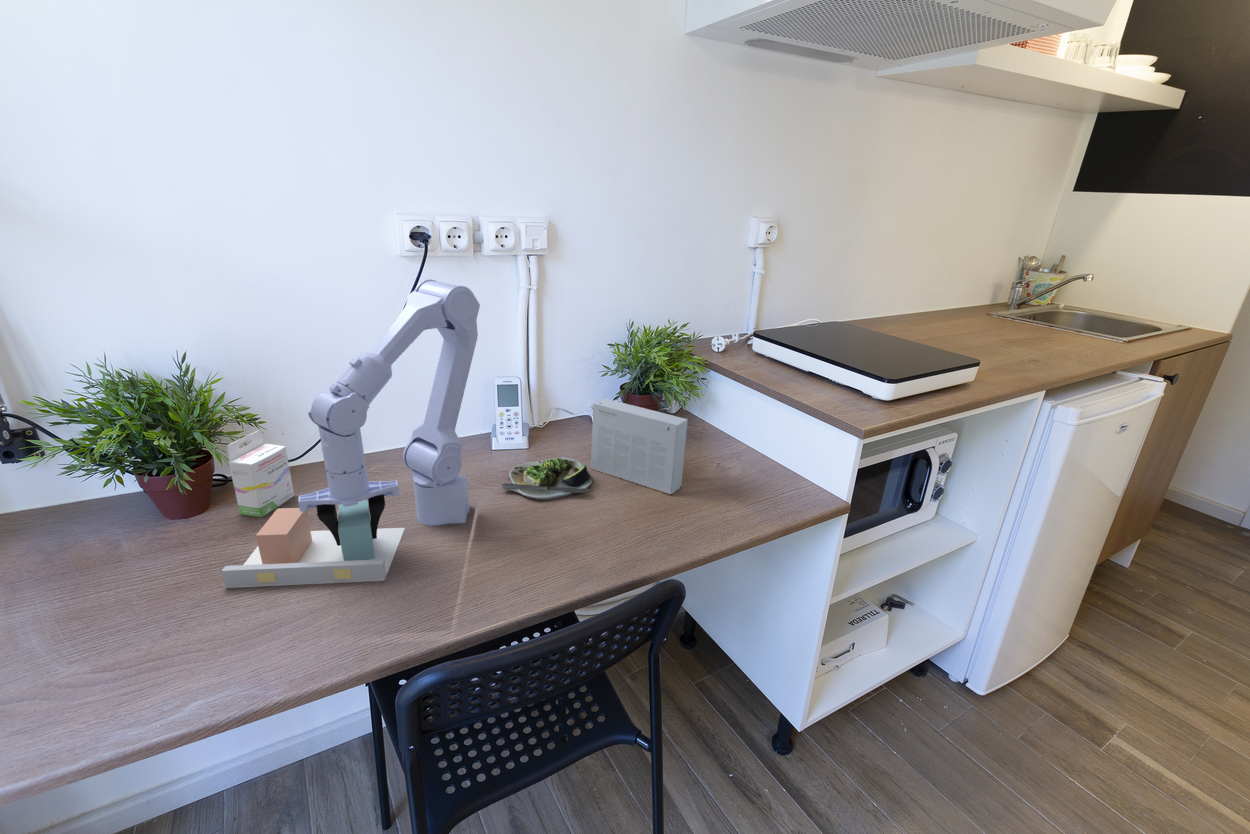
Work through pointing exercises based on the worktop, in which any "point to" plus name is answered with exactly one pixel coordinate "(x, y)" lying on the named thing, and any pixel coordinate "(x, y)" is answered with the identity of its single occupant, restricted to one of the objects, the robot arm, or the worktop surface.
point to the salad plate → (550, 478)
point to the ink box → (259, 475)
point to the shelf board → (318, 564)
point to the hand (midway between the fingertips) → (357, 538)
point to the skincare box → (638, 444)
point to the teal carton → (355, 532)
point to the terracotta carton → (284, 536)
